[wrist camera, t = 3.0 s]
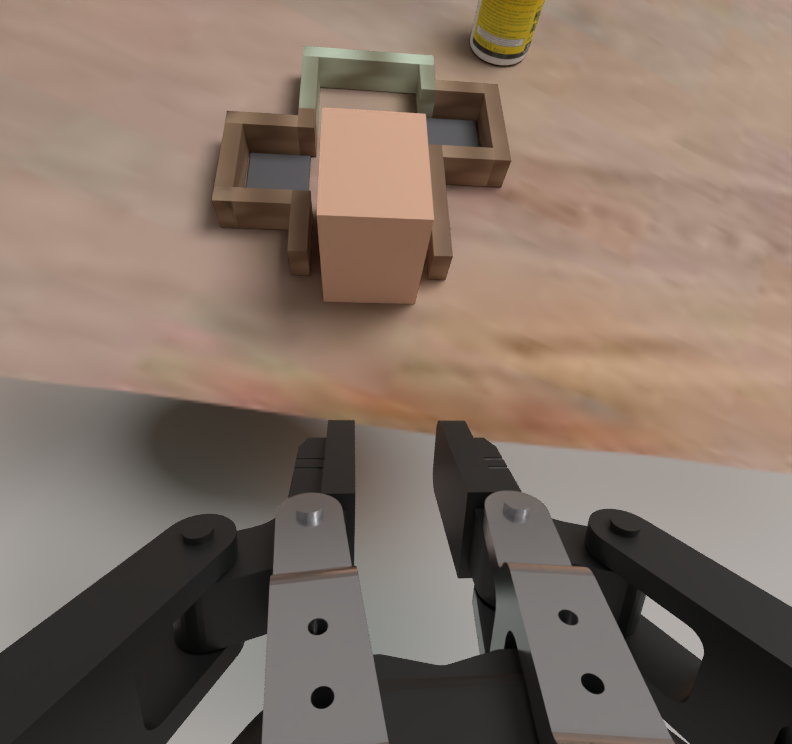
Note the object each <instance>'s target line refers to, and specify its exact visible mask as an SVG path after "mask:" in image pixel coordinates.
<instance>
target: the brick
mask: <svg viewBox="0 0 792 744" xmlns="http://www.w3.org/2000/svg"><path fill="white" fill-rule="evenodd" d="M433 223H434V212H433V199H432V187H431V174H430V161H429V149H428V136H427V124H426V114H421V113H405V112H389V111H373V110H357V109H341V108H325V107H322V122H321V141H320V161H319V180H318V199H317V225H318V237H319V250H320V262H321V274H322V287H323V299H324V302H359V303H398V304H415V301H416V297H417V292H418V288H419V284H420V279H421V275H422V271H423V266H424V262H425V258H426V253H427V249H428V244H429V240H430V236H431V231H432V227H433Z"/></svg>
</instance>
